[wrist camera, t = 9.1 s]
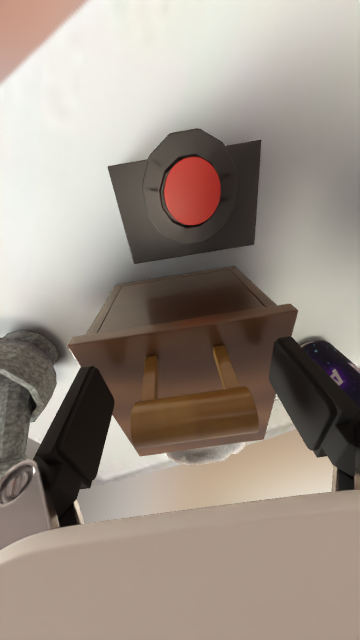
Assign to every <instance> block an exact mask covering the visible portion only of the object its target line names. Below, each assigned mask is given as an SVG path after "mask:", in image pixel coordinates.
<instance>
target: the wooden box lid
mask: <svg viewBox="0 0 360 640" xmlns="http://www.w3.org/2000/svg"><path fill="white" fill-rule="evenodd" d="M297 313H298V310H297V309H296V308H295V307H294V306H293V305H292V304H284V305H277V306H271V307H264V308H258V309H251V310H245V311H238V312H232V313H225V314H219V315H212V316H206V317H199V318H193V319H186V320H180V321H173V322H167V323H160V324H154V325H147V326H141V327H134V328H128V329H121V330H115V331H108V332H102V333H95V334H89V335H82V336H76V337H72V338H71V340H70V342H69V343H68V345H67V347H68V348H69V350H70V351H71V353H72V355H73V356H74V358H75V359H76V361H77V362H78V364H79V365H80V367H81V368H82V367H88V366H94V367H95V368H98V369H99V371H100V373H101V375H102V377H103V379H104V381H105V382H106V384H107V386H108V388H109V390H110V392H111V394H112V396H113V397H114V400H115V405H114V409H113V413H112V415H113V416H114V418H115V419H116V421H117V422H118V424H119V425H120V427H121V428H122V430H123V431H124V433H125V434H126V436H127V437H128V439H129V440H130V442H131V443H132V445H133V446H134V448H135V450H136V451H137V453H138V454H139V456H146V455H154V454H161V453H168V452H175V451H183V450H190V449H197V448H204V447H211V446H219V445H226V444H233V443H240V442H248V441H255V440H262V439H264V436H265V433H266V429H267V425H268V421H269V418H270V414H271V410H272V407H273V403H274V399H275V395H276V392H275V390H274V389H273V387H272V385H271V383H270V381H269V370H270V364H271V358H272V352H273V346H274V342H275V341H277V339H278V338H281V337H288V336H290V337H291V336H292V332H293V328H294V324H295V321H296V317H297Z"/></svg>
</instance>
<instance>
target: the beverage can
mask: <svg viewBox="0 0 360 640" xmlns="http://www.w3.org/2000/svg"><path fill="white" fill-rule="evenodd" d="M301 347H302V348H303V350H304V351H305V352H306V353H307V354H308V355H309V356H310V357H311V358H312V359H313V360H314V361H316V362H317V363H318V364H319V365H320V366H321V367H322V368H323V369H324V370H325V371H326V372H327V374H328V375H329V376H330V377H331V378H332V379H333V380H334V381H335V382H336V383H337V384H338V385H339V386H340V387H341V388H342V389H343V391H344V392H345V393H346V394H347V395H348V396H349V397H350V398H351V399H352V400H353V401H354V402H355V403H356V404H357V405H358V406H359V408H360V369H359V368H358V367H357V366H356V365H355V364H353V363H352V362H351V361H350V360H349V359H348V358H346V357H345V356H344V355H343V354H342V353H341V352H339V351H338V350H337V349H336V348H335V347H334V346H333V345H331V344H330V343H329V342H326V341H310V342H306V343H304V344H302V345H301Z"/></svg>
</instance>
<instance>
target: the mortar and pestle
mask: <svg viewBox="0 0 360 640" xmlns="http://www.w3.org/2000/svg"><path fill="white" fill-rule="evenodd" d="M58 357H59V355H58V353H57V350H56V347H55V345H54V344H53V343H52V342H50V341H49V340H48V339H46V338H45V337H44V336H42V335H41V334H38V333H34V332H29V331H25V330H20V331H16V332H12V333H8V334H7V335H6V336H5V337H3V338H0V479H1V478H2V477H3V476H4V475H5V474H6V472H8V471H9V470H10V469H11V468H12V467H13V466H15V465H17V464H18V463H20V462H22V461H25V460H28V457H27V456H26V454H25V451H26V445H27V438H28V431H29V424H30V422H35V420H36V419H37V418H38V416H39V415H40V414H41V412H42V411H43V410H44V409H45V407H46V405H47V404H48V402H49V400H50V399H51V397H52V395H53V392H54V389H55V387H56V384H57V383H56V373H55V370H54V368H53V364H54V362H55V361H56V359H57V358H58Z"/></svg>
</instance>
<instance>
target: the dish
mask: <svg viewBox="0 0 360 640" xmlns="http://www.w3.org/2000/svg"><path fill="white" fill-rule="evenodd" d="M246 444H247V442H240V443H233V444H226V445H219V446H211V447H204V448H197V449H190V450H183V451H175V452H168V453H165V455H166V456H167V457H168V458H169V459H171V460H173V461H174V462H176V463H184V464H188V465H196V464H205V463H213V462H220V461H224V460H226V459H227V458H228V456H229V455H231V454H232V453H234V454H237V453H239V452H240V451H241V450H242V449H243V448H244V447H245V446H246Z"/></svg>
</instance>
